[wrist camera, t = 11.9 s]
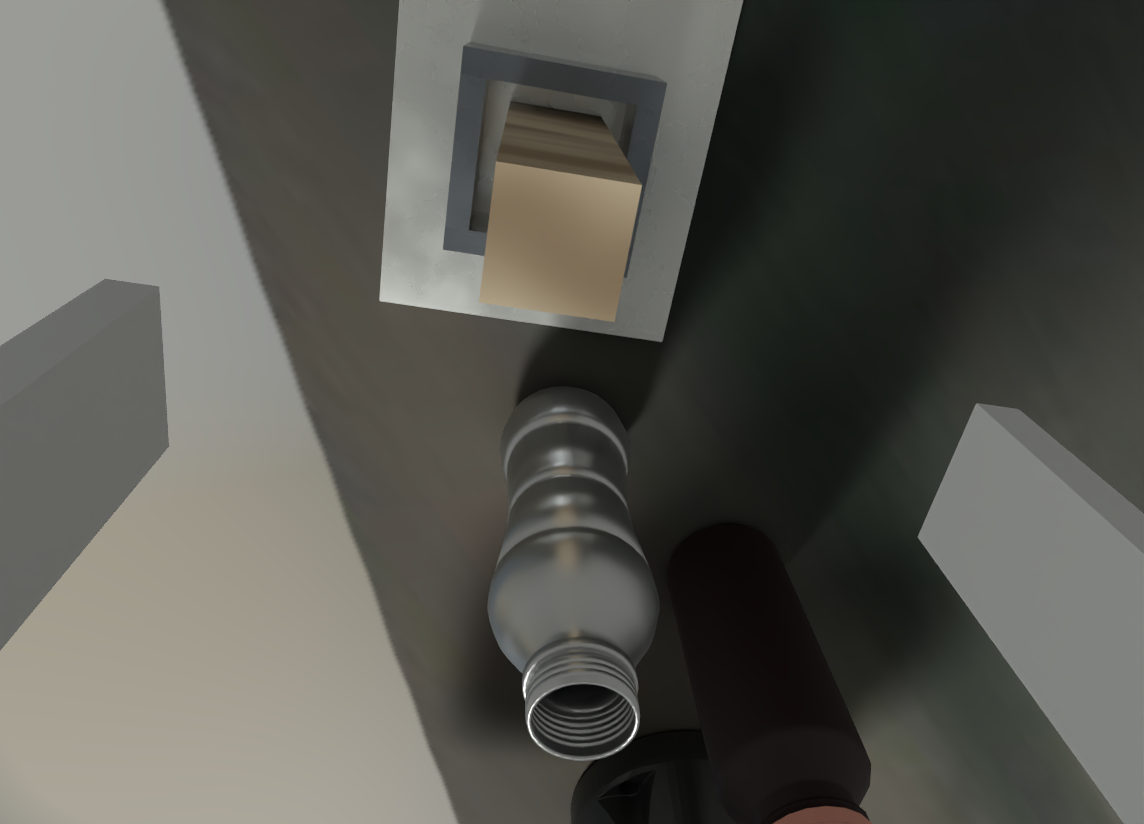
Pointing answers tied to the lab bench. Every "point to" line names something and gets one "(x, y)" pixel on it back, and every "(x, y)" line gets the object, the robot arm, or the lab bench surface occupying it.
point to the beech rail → (559, 215)
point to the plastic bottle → (572, 575)
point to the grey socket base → (557, 80)
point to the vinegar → (763, 686)
